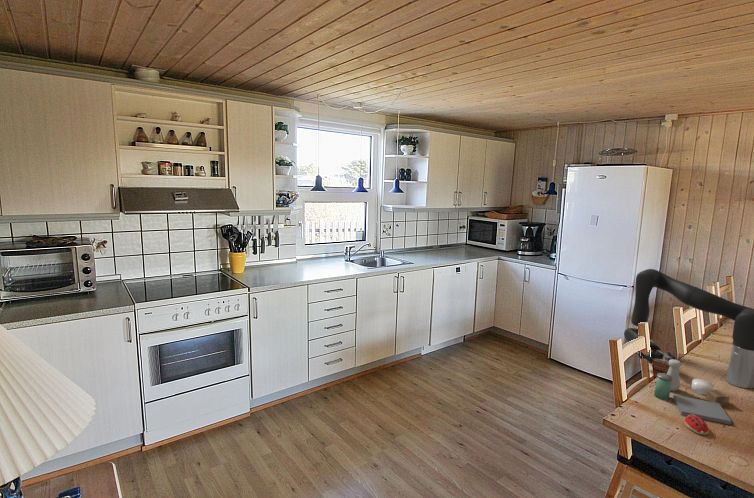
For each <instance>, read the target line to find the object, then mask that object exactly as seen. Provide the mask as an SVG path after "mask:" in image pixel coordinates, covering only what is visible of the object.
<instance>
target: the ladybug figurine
mask: <svg viewBox="0 0 754 498" xmlns="http://www.w3.org/2000/svg"><path fill="white" fill-rule="evenodd" d="M683 423H684V425H685V426H686V427H687V428H688V429H689V430H690V431H692V432H693V433H695V434H698V435H704V436H706V435H708V434H709V433H710V429H709V427H708V424H707V423H706V422H705V420H704V419H701V418H699V417H698V416H696V415H688V416H685V418H684V419H683Z"/></svg>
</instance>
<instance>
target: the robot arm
mask: <svg viewBox="0 0 754 498" xmlns="http://www.w3.org/2000/svg"><path fill="white" fill-rule="evenodd" d="M653 288H656V289H660V290H662V291H664V292H668V293H669V294H671V295H672V296H674V297H675V298H676V300H679V301H680V302H681V303H683V304H685V305H687V306H688V307H692V308H694V309H696V310H699V311H702V312H705V313H711V314H714V315H719V316H723V317H726V318H728V319H730V320H732V321H734V322H733V323H734V324H733V328H732V336H731V337H732V345H731V348H730V350H731V351H730V354H729V355H730V357H729V361H728V367H727V370H726V372H727V373H726V378H725V381H726V382H727V383H729V384H730V385H733V386H736V387H739V388H743V389H754V308H752V307H749V306H745V305H742V304H740V303H737V302H733V301H730V300H728V299H725V298H724V297H721V296H718V295H716V294H713V293H712V292H710V291H707V290H705V289H702V288H699V287H697V286H693V285H691V284H688V283H686V282H683V281H681V280H678V279H675V278H673V277H671V276H669V275H667V274H664V273H663V272H661V271H659V270H657V269H653V268H647V269H645V270H642V271H640V272H638V273H637V275H636V276H635V293H634V294H635V295H634V297H635V298H634V305H633V310H632V315H631V324H632V325H633V326H636V327H638V323H640V322H647V323H648V322H649V321H648V320H649V316H650V294H651V292H652V289H653ZM638 329H639V328H633V327H628V328H626V329H625V330H624V332H623V333H624V335H623V336H624V338H625V340H626V341H627V342H628V343H630V342H629V341H631V340H633V339H636V338H638V336H639V335H638ZM650 347H651V357H650V350H649V352H647V354H645V355H644V354H643V353H642V352H641V356H640V351H638V352H637V351H636V354H637V356H638V358H639V359H641V360H645V361H647V363H649V364H653V360H654V359H656V360H660V361H662V362H667V363H668V364H669V360H671V359H674V360H677V359H676V358H677V357H676V356H675V355H674V354H672V353H671V352H670V351H667V353H665V352H663V351H662V349H661V347H659V345H658V344H656V343H655V341H653V340H652V339H650ZM642 356H643V359H642Z"/></svg>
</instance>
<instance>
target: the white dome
mask: <svg viewBox="0 0 754 498" xmlns="http://www.w3.org/2000/svg"><path fill="white" fill-rule="evenodd" d="M691 389H692V390H691ZM690 390H691V391H692V392H694V393H695V392H696V393H695V394H698V395H701V396H705V397H706V394H707V390H714V384H713V383H712V382H711V381H708V380H706V379H702V378H693V379H692V381H691V387H690Z"/></svg>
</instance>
